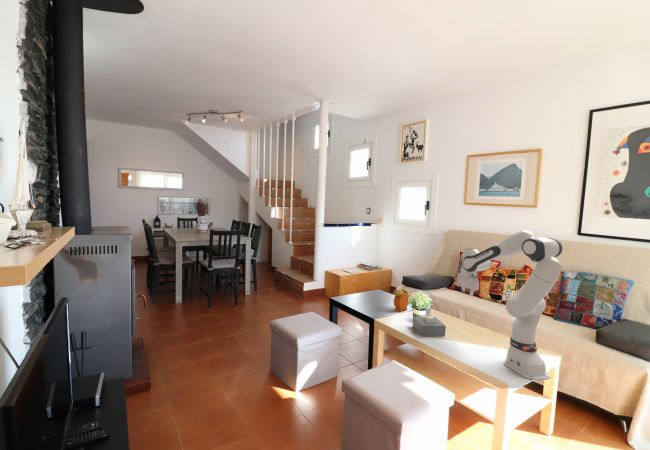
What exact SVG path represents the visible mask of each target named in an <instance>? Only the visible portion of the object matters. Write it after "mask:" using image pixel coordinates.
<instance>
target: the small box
mask: <svg viewBox="0 0 650 450" xmlns="http://www.w3.org/2000/svg"><path fill="white" fill-rule="evenodd" d="M431 313H432V308H431V307H430V306H428V308H427V309H426V315H425V316H427V315H428V316H431Z"/></svg>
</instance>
